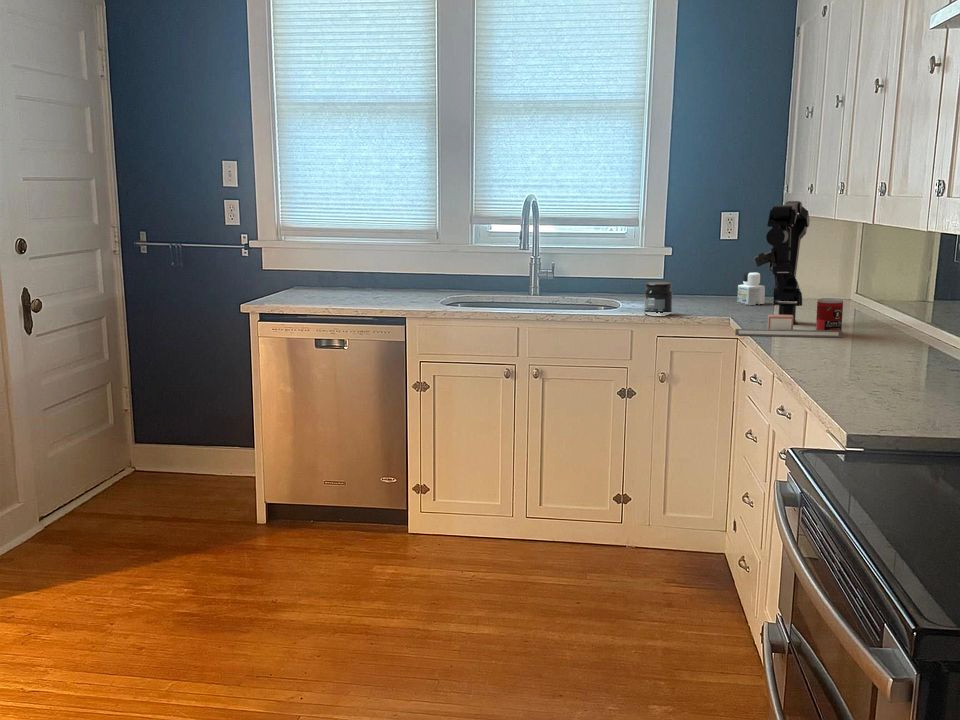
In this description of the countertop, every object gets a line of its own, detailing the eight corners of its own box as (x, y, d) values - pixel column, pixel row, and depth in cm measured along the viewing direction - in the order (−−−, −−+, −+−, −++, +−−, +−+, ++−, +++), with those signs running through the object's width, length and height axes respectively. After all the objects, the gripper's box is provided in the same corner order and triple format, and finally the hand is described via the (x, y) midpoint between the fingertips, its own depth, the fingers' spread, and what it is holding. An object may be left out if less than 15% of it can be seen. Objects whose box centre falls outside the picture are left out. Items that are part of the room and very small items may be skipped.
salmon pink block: (767, 332, 290) (768, 314, 289) (791, 333, 288) (792, 314, 287) (768, 335, 285) (768, 316, 284) (792, 335, 283) (793, 317, 282)
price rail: (735, 334, 286) (735, 328, 286) (841, 336, 278) (841, 330, 278) (735, 335, 285) (735, 329, 285) (841, 337, 277) (842, 331, 277)
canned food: (826, 336, 280) (827, 301, 278) (810, 332, 288) (812, 298, 286) (846, 334, 282) (848, 300, 280) (830, 331, 290) (832, 297, 288)
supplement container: (670, 312, 340) (671, 281, 338) (673, 316, 330) (674, 284, 327) (642, 313, 341) (643, 281, 339) (644, 316, 331) (645, 284, 328)
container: (736, 303, 362) (738, 272, 360) (753, 302, 365) (754, 271, 362) (747, 306, 355) (749, 273, 353) (764, 304, 357) (765, 272, 355)
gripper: (754, 242, 302) (752, 288, 305) (757, 246, 284) (755, 294, 287) (788, 242, 299) (786, 288, 302) (793, 245, 282) (791, 294, 285)
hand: (779, 291), depth 294 cm, fingers open, 9 cm apart
